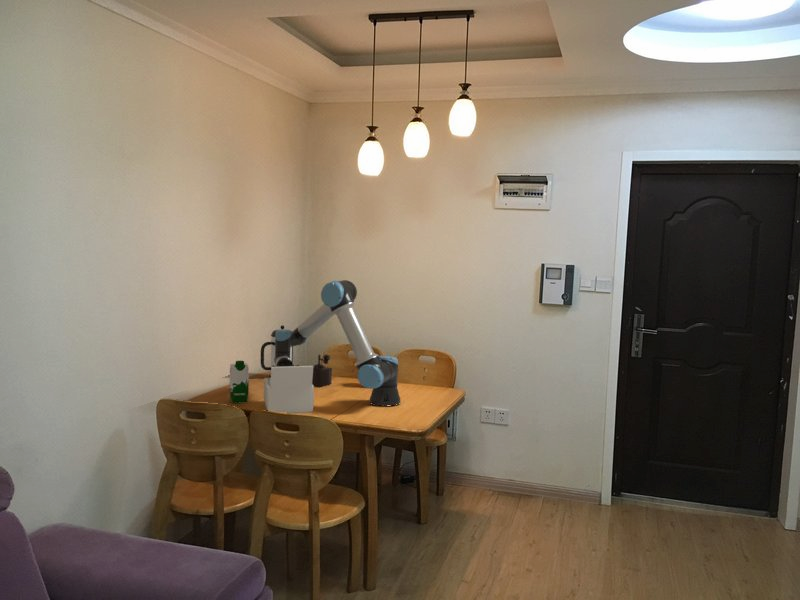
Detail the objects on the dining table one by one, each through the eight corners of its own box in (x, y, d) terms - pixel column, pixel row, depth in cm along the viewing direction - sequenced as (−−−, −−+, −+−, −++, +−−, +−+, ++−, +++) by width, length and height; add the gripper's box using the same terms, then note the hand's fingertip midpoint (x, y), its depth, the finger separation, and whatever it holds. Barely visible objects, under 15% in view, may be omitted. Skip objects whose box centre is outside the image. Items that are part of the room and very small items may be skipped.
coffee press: (274, 373, 388) (275, 322, 386) (299, 376, 383) (300, 324, 381) (259, 379, 372) (260, 326, 369) (285, 382, 367) (286, 328, 364)
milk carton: (230, 404, 316) (230, 362, 315) (228, 399, 325) (228, 359, 323) (249, 402, 319) (249, 361, 318) (247, 398, 328) (247, 358, 326)
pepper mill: (304, 385, 361) (304, 352, 359) (317, 381, 370) (317, 349, 369) (326, 389, 353) (327, 355, 351) (339, 385, 362) (340, 352, 360)
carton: (263, 402, 321) (263, 377, 320) (306, 400, 327) (307, 376, 326) (267, 414, 300) (267, 388, 298) (313, 412, 305) (314, 386, 304)
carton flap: (271, 366, 294) (271, 367, 293) (313, 365, 299) (313, 366, 299) (270, 387, 299) (270, 388, 298) (311, 386, 304) (311, 386, 303)
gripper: (297, 372, 324) (303, 383, 301) (270, 372, 320) (274, 383, 298) (298, 357, 323) (303, 366, 300) (270, 357, 320) (274, 367, 297)
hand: (289, 375), depth 299 cm, fingers closed
